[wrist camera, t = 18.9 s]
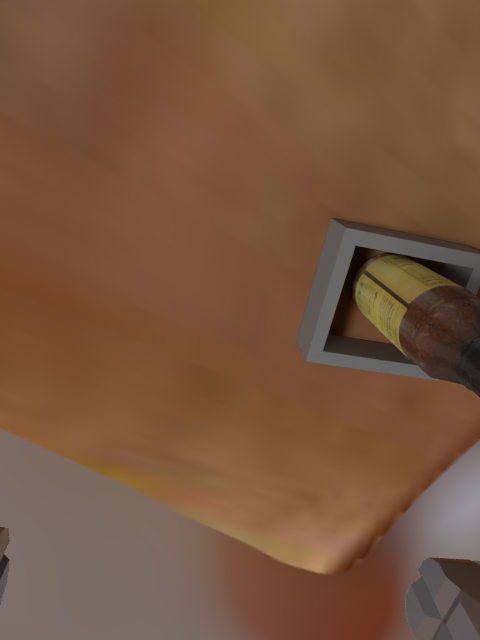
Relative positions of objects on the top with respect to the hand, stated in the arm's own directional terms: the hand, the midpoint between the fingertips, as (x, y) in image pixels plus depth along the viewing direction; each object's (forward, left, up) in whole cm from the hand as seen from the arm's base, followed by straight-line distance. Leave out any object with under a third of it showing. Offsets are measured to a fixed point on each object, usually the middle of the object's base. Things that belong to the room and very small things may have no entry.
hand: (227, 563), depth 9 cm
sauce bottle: (+2, +17, -31) cm, 36 cm away
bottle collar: (+3, +17, -31) cm, 36 cm away
